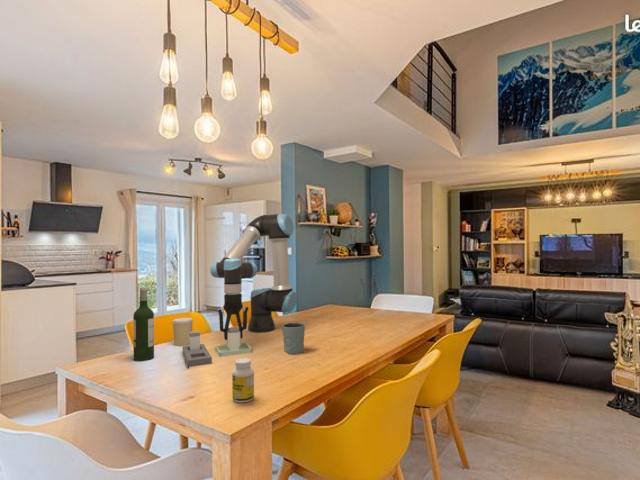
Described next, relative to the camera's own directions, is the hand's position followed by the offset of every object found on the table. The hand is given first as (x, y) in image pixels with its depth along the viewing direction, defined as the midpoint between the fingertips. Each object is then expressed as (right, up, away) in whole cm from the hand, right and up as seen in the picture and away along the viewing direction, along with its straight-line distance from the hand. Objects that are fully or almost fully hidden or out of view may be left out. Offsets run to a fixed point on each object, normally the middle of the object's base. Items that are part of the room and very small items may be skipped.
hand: (233, 346), depth 165 cm
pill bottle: (+15, -2, -52) cm, 54 cm away
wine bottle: (-36, -3, -7) cm, 37 cm away
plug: (0, -2, 0) cm, 2 cm away
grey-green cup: (+27, -3, -1) cm, 27 cm away
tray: (0, -3, 0) cm, 3 cm away
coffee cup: (-28, -4, +16) cm, 33 cm away
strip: (-14, -3, -9) cm, 16 cm away
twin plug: (-16, -3, -3) cm, 17 cm away
